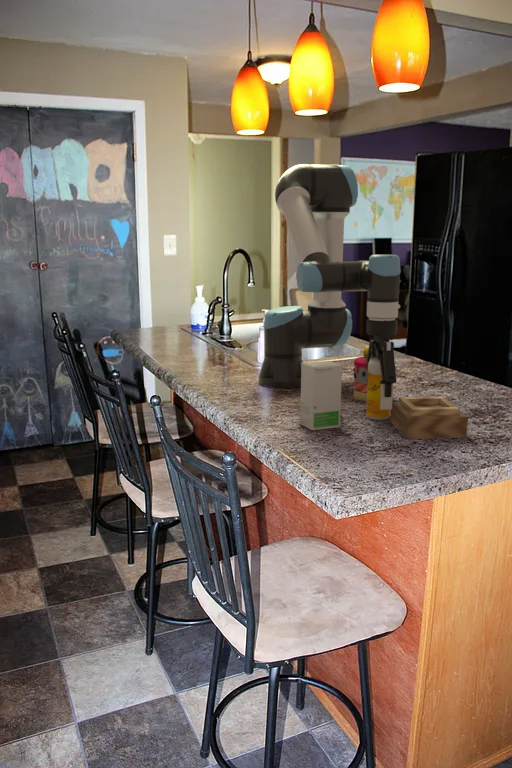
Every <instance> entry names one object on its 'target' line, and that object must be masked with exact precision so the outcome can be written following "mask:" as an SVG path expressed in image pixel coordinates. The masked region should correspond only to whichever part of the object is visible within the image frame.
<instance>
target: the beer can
mask: <svg viewBox="0 0 512 768" xmlns="http://www.w3.org/2000/svg"><path fill="white" fill-rule="evenodd" d="M381 380H382V374H381V367H380V361H379V360H378V359H377V357H376V358H371V359H370V361H369V363H368V381H367V401H366V412H365V413H366V415H367V417H368V418H369V419H370V420H374V421H376V420H377V421H384V420H388V419H389V417H390V416H391V409H390V410H381V409H380V402H381V384H380V381H381Z"/></svg>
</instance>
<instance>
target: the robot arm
mask: <svg viewBox="0 0 512 768" xmlns="http://www.w3.org/2000/svg"><path fill="white" fill-rule="evenodd" d="M356 176H357V175H356V173H355V172H354V169H352V168H351V167H350V166H348V165H344V164H343V165H342V164H336V163H335V164H307V163H302V164H296V165H294V166H291V167H290V168H288V169H287V170H286V171H285V172H284V173H283V174H282V175H281V177H280V178H279V179H278V182H277V183H276V186H275V191H274V192H275V193H274V199H275V203H276V206H277V209H278V211H279V212H280V213H281V214H283V217H284V219H285V222H286V225H287V228H288V231H289V233H290V236H291V239H292V242H293V244H294V248H295V250H296V254H297V256H298V260H299V262H300V263H299V264H298V265H297V268H296V273H295V277H296V285H297V288H298V289H299V290H300V291H301V292H305V293H312V294H313V295H312V299H311V300H310V301H309V302H308V303H307V310H304V309H303V307H302V306H300V305H290V306H289V305H288V306H279V307H276V308H275V307H274V308H271V309H269V310H267V311H266V313H265V314H264V320H263V329H264V330H263V339H264V341H263V343H264V344H263V345H264V346H263V347H264V350H263V351H264V352H263V353H264V354H263V356H264V357H263V361H262V364H261V367H260V370H259V372H258V373H259V374H258V384H260V385H261V386H264V387H269V388H278V389H279V388H281V389H284V388H285V389H286V388H287V389H289V388H299V387H301V363H302V362H304V361H303V349H319V348H320V349H322V348H329V349H331V348H338V347H342V346H344V345H345V344H346V343H347V342H348V340H349V339H350V337H351V333H352V329H353V319H352V318H353V316H352V312H351V311H350V310H349V309H348V308H346V307H347V305H346V303H345V301H343V299H342V292H367V298H366V299H367V300H366V317H367V318H368V319H367V320H366V329H365V331H366V334H367V335H369V344H368V347H369V349H368V355H367V361H366V367H367V369H368V363H369V361H370V359H371V358H376V357H377V359H378V360H379V361H380V367H381V374H382V380H381V381H380V384H381V402H380V409H381V410H390V409H392V402H393V396H394V395H393V394H394V391H393V390H394V384H396V383H397V373H396V363H395V352H394V351H395V349H394V348H395V343H394V341H391V340H390V337H393V336H396V335H397V334H398V324H399V321H398V320H397V318H398V316H399V309H400V308H401V305H400V304H399V298H400V297H399V296H400V279H401V273H402V272H401V258H400V256H399V255H398V254H371V255H370V256H369V258H368V259H367V260H358V261H357V260H355V261H344V260H343V259H344V237H345V236H344V234H345V233H344V232H345V230H344V229H345V219H346V217H347V216H348V215H349V214H350V212H351V208H352V207H353V206H355V205H356V204H357V201H358V198H359V197H358V196H359V187H358V180H357V177H356Z"/></svg>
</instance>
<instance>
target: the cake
mask: <svg viewBox="0 0 512 768" xmlns="http://www.w3.org/2000/svg"><path fill="white" fill-rule="evenodd" d="M368 349H369V346H366V347H365V348H363V351H362V353H363V356H359V357H355V359H354V360H353V366H354V367H353V369H352V371H353V379H354V380H353V381H352V383H351V384H352V385H353V386H354V388H353V398H354V399H355V400H357V401H361V402H362V401H363V402H367V381H368V369H367V367H366V361H367V355H368Z"/></svg>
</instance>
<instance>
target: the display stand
mask: <svg viewBox="0 0 512 768" xmlns="http://www.w3.org/2000/svg"><path fill="white" fill-rule="evenodd" d="M389 417H390V423H391V424H392V425H393V427H395V428H396V429H397V431H399V433H400V434H401V435H402V436H403V437H404V438H405V439H406V440H420V439H423V440H425V439H424V438H427V439H454V438H455V439H456V438H461V437H464V438H467V437H468V435H467V434H468V421H469V420H468V419H469V416H468V415H467V414H465V413H464V412H463V411H461V410H460V408H459V406H457V405H455V404H454V403H453V402H451V401H450V400H448V398H446V397H444V396H411V397H406V396H405V397H398V401H392V409H391V415H390V416H389ZM461 439H462V438H461Z"/></svg>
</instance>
